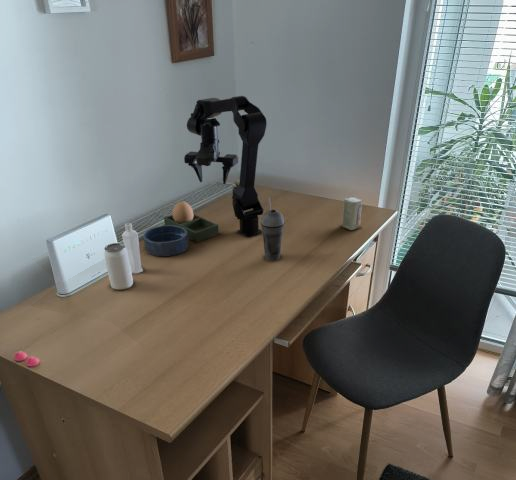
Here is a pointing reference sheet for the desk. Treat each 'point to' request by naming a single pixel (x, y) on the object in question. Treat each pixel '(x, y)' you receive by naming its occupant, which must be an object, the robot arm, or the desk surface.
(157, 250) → the bowl
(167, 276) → the desk surface
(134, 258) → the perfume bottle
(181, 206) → the egg
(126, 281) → the can
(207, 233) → the carton
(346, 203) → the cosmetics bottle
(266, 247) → the beverage cup
